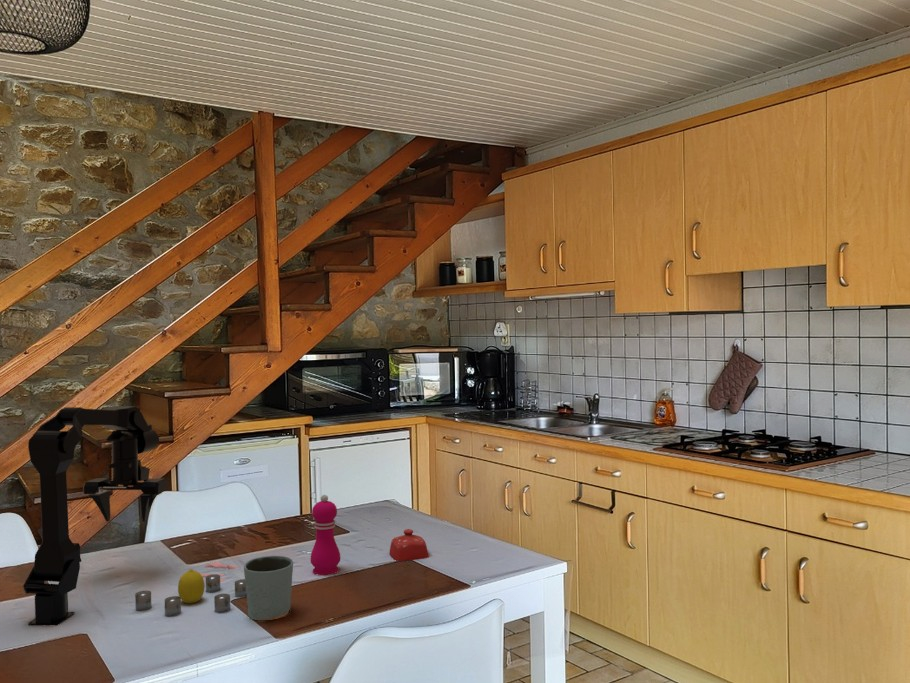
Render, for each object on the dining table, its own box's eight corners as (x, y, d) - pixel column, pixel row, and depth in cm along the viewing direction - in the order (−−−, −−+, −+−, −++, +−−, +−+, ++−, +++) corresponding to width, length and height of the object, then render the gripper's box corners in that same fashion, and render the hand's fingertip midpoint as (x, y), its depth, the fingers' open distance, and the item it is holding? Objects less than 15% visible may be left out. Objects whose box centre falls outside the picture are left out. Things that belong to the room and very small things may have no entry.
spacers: (228, 621, 158) (227, 602, 158) (125, 619, 160) (125, 600, 160) (256, 592, 175) (255, 574, 175) (163, 590, 177) (163, 573, 177)
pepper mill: (304, 578, 184) (303, 496, 184) (323, 569, 191) (321, 490, 190) (328, 583, 181) (327, 499, 180) (346, 573, 187) (345, 493, 187)
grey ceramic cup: (274, 606, 166) (273, 552, 166) (304, 617, 160) (303, 561, 160) (234, 621, 158) (233, 564, 158) (264, 633, 152) (263, 574, 152)
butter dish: (382, 557, 200) (381, 525, 200) (424, 553, 204) (424, 521, 203) (391, 571, 189) (391, 537, 189) (436, 566, 193) (435, 533, 192)
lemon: (196, 610, 165) (195, 574, 164) (173, 609, 166) (172, 572, 165) (209, 601, 170) (208, 566, 170) (187, 600, 171) (186, 564, 171)
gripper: (176, 452, 193) (177, 513, 193) (105, 452, 194) (106, 513, 194) (156, 459, 181) (157, 524, 182) (81, 459, 183) (82, 524, 183)
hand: (126, 521), depth 185 cm, fingers open, 9 cm apart
